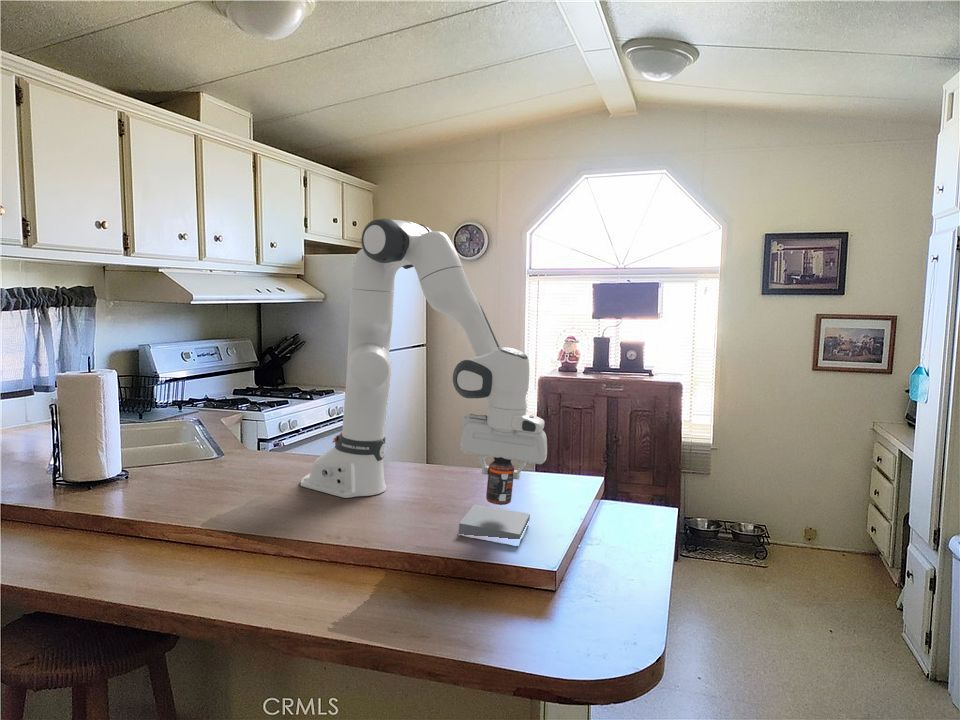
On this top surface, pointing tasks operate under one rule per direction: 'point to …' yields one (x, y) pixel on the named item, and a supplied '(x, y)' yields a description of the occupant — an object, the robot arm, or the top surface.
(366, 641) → the top surface
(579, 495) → the top surface
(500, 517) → the plinth
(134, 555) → the top surface
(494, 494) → the supplement bottle
